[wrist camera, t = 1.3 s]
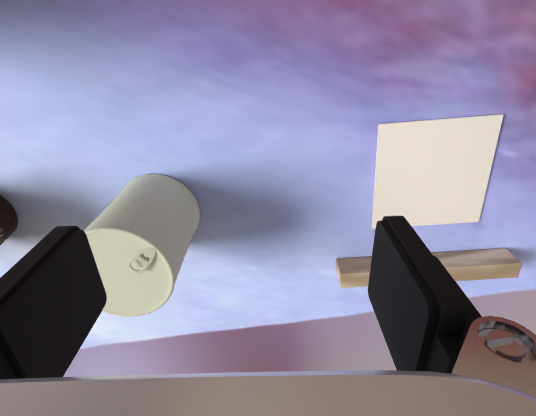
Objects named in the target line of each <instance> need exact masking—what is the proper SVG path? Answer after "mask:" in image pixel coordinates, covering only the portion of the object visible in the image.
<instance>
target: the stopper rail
mask: <svg viewBox="0 0 536 416" xmlns="http://www.w3.org/2000/svg"><path fill="white" fill-rule="evenodd" d="M431 254H432V255H433V256H436V257H437V258H438V259H439V260H440V262H441V263H442V264H443V266H444V267H445V268H446V270H447V271H448V272H449V274H450V275H451V276H452V278H453V279H454V280H455V281H465V280H482V279H498V278H515V277H518V275H519V272H520V269H521V266H522V262H521V261H520V260H518V259H517V258H516V257H515V256H514V255H513V254H512V253H511V252H510V251H508V250H507V249H506V248H496V249H480V250H464V251H448V252H432V253H431ZM371 260H372V256H369V257H353V258H338V259H336V273H337V276H338V280H339V283H340V287H341V288H347V287H364V286H368V283H369V275H370V268H371Z"/></svg>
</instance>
